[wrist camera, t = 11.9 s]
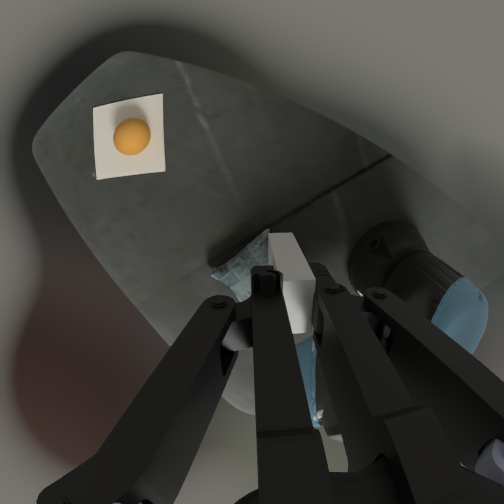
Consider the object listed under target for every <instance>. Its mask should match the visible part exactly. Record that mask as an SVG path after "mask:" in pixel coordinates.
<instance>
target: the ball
mask: <svg viewBox="0 0 504 504" xmlns="http://www.w3.org/2000/svg"><path fill="white" fill-rule="evenodd" d="M150 137H151V133H150V129H149V126H148V125H147V124H146V123H145V122H144V121H143V120H141V119H139V118H128V119H126V120H124V121H122V122H121V123H120V124H119V125H118V126H117V127H116V129H115V131H114V134H113V142H114V145H115V147H116V149H117V150H118V151H119V152H121V153H122V154H125V155H136V154H138V153H140V152H142V151H143V150H144V149H145V148H146V147H147V145H148V144H149V141H150Z"/></svg>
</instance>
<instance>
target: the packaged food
mask: <svg viewBox="0 0 504 504" xmlns="http://www.w3.org/2000/svg"><path fill="white" fill-rule="evenodd" d="M268 233H270V228H267V229H265V230H264V231H263V232H261V234H259V235H258V236H257V237H255V238H254V239H253V240H252V241H251V242H250V243H248V244H247V245H246V247H245V248H244V249H242V250H241V251H240V252H238V253H237V254H236V255H235V256H234V257H232V258H231V259H230V260H228V261H226V262H224V263H223V264H222V265H221V266H220V267H218V268H216V269H215V270H214V271H213V272H212V274H211V276H212V277H214V278H215V279H217V280H220V281H222V282H223V283H224V284H226V285H227V286H228V287H229V288H230V289H231V290H232V291H233V292H234V293H235V295H236V297H237V298H238V300H239V302H242V301H244V300H246V299H248V298H249V297H250V296H251V269H252V268H253V267H254V266H264V265H268Z"/></svg>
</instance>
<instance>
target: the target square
mask: <svg viewBox="0 0 504 504" xmlns="http://www.w3.org/2000/svg"><path fill="white" fill-rule="evenodd" d="M128 118H139V119H141V120H143V121H144V122H145V123H146V124H147V125H148V126H149V129H150V133H151V137H150V141H149V144H148V145H147V147H146V148H145V149H144V150H143V151H142V152H140V153H138V154H136V155H125V154H122V153H121V152H119V151H118V150H117V149H116V147H115V145H114V142H113V134H114V131H115V129H116V127H117V126H118V125H119V124H120V123H121V122H122V121H124V120H126V119H128ZM93 125H94V150H95V164H96V176H97V180H99V179H105V178H112V177H119V176H127V175H135V174H144V173H153V172H163V171H166V168H165V151H164V127H163V93H162V94H156V95H150V96H144V97H139V98H134V99H129V100H124V101H119V102H115V103H111V104H107V105H103V106H99V107H95V108H93Z"/></svg>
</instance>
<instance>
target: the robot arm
mask: <svg viewBox="0 0 504 504" xmlns="http://www.w3.org/2000/svg"><path fill="white" fill-rule="evenodd" d="M349 277H350V281H351V284H352V286H353V288H354V290H355V291H356V293H357V294H358V295H359V296H354V295H351V294H350V293H349V291H348V290H347V288H346V287H344V286H343V285H340V284H337V283H335V281H334V279H333V278H332V276H331V275H330V273H329V272H328V270H327V268H326V267H325V266H324V265H322V264H321V263H307V261H306V259H305V257H304V255H303V253H302V251H301V249H300V247H299V245H298V243H297V241H296V239H295V237H294V235H293V233H268V265H264V266H254V267H253V268H252V269H251V296H250V297H249V298H248V299H246V300H244V301H242V302H238V303H235V301H234V299H233V298H231V297H228V296H224V295H216V296H212V297H210V298H207V299H206V300H205V301H204V302H203V303H202V304H201V306H200V307H199V308H198V310H197V311H196V313H195V314H194V315H193V317H192V318H191V320H190V321H189V322H188V324H187V325H186V327H185V328H184V329H183V331H182V332H181V334H180V335H179V336H178V338H177V339H176V341H175V342H174V343H173V345H172V346H171V348H170V349H169V350H168V352H167V353H166V355H165V356H164V357H163V359H162V360H161V362H160V363H159V364H158V366H157V367H156V369H155V370H154V371H153V373H152V374H151V376H150V377H149V379H148V380H147V382H146V383H145V384H144V386H143V387H142V388H141V390H140V391H139V393H138V394H137V396H136V397H135V398H134V400H133V401H132V403H131V404H130V406H129V407H128V408H127V410H126V411H125V413H124V414H123V416H122V417H121V419H120V420H119V421H118V423H117V424H116V426H115V427H114V429H113V430H112V432H111V433H110V434H109V436H108V437H107V439H106V440H105V442H104V443H103V444H102V446H101V447H100V449H99V450H98V452H97V453H96V454H95V455H94V456H93V457H91V458H90V459H88V460H87V461H85V462H84V463H83V464H81V465H80V466H78V467H77V468H75V469H74V470H72V471H71V472H69V473H68V474H66V475H65V476H63V477H62V478H60V479H59V480H57V481H55V482H54V483H52V484H51V485H49V486H48V487H46V488H45V489H44V490H43V491H42V492H41V493H40V494H39V496H38V499H37V501H36V502H37V504H173V503H174V501H175V499H176V497H177V495H178V493H179V491H180V489H181V487H182V485H183V483H184V480H185V478H186V476H187V474H188V471H189V469H190V467H191V465H192V462H193V460H194V458H195V455H196V453H197V451H198V449H199V447H200V444H201V442H202V440H203V437H204V435H205V433H206V431H207V428H208V426H209V424H210V421H211V419H212V417H213V414H214V412H215V409H216V407H217V404H218V402H219V400H220V398H221V395H222V393H223V390H224V388H225V386H226V383H227V381H228V378H229V376H230V374H231V371H232V369H233V366H234V364H235V361H236V359H237V356H238V350H241V349H245V348H249V347H253V362H254V389H255V415H256V440H257V464H258V465H257V466H258V489H257V490H254V491H252V492H250V493H248V494H247V495H245V496H244V497H242V498H241V499H239V500H238V501H237V502H236V503H234V504H504V382H503V381H502V380H500V379H499V378H498V377H497V376H496V375H495V374H494V373H493V372H491V371H490V370H489V369H488V368H487V367H486V366H484V365H483V364H482V363H481V362H480V361H478V360H477V359H476V358H475V357H474V356H472V353H473V352H474V350H475V349H476V347H477V346H478V344H479V342H480V340H481V338H482V336H483V333H484V331H485V327H486V324H487V319H488V304H487V300H486V298H485V296H484V295H483V293H482V292H481V291H480V290H479V289H478V288H477V287H476V286H475V285H474V284H473V283H472V281H471V280H470V279H468V278H466V277H464V276H462V275H461V274H460V273H458V272H457V271H456V270H454V269H453V268H452V267H450V266H449V265H447V264H446V263H445V262H443V261H442V260H440V259H439V258H437V257H436V256H434V255H433V254H432V253H431V252H430V251H429V249H428V247H427V245H426V243H425V241H424V239H423V238H422V236H421V235H420V234H419V233H418V232H417V231H416V230H414V229H413V228H411V227H409V226H408V225H406V224H403V223H400V222H387V223H383V224H380V225H378V226H376V227H374V228H372V229H371V230H370V231H368V232H367V233H366V234H365V235H364V236H363V237H362V238H361V239H360V241H359V242H358V243H357V245H356V247H355V249H354V251H353V253H352V256H351V259H350V264H349ZM312 324H313V327H314V332H313V335H312V336H311V337H309V338H307V339H305V340H304V341H302V342H300V343H298V344H297V345H296V346H295V342H294V338H293V334H295V333H309V332H311V326H312ZM321 425H323V427H324V429H325V431H326V434H327V436H328V437H329V438H332V439H335V440H338V441H341V442H343V443H344V446H345V450H346V455H347V458H348V472H329V469H328V464H327V460H326V455H325V451H324V446H323V442H322V438H321V434H320V432H319V430H318V429H314V427H320V426H321ZM460 462H461V463H462V464H463V465H464V466H465V467H467V468H468V469H467V468H465V467H463V466H461V464H460ZM469 469H470V470H469Z"/></svg>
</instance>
